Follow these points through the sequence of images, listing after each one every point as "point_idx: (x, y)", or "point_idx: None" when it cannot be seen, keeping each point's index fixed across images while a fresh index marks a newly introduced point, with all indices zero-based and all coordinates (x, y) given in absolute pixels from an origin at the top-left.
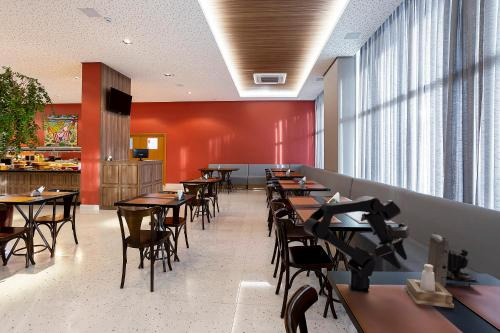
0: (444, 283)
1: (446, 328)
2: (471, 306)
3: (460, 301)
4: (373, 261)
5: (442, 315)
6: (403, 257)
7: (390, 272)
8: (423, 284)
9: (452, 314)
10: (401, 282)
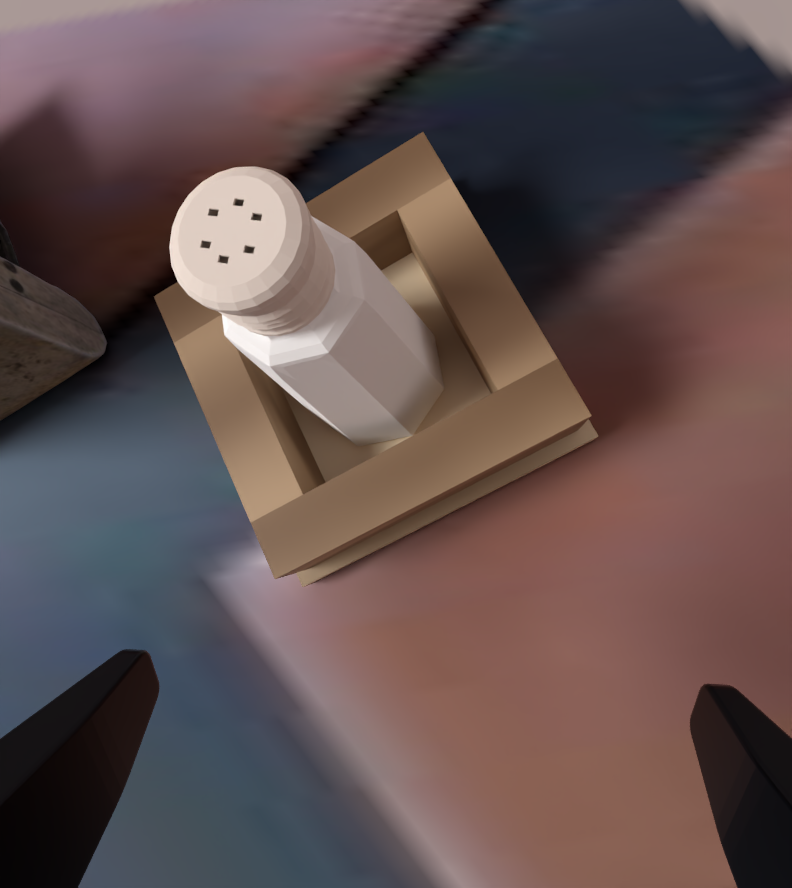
0: (61, 293)
1: None
2: (315, 101)
3: None
4: None
5: (667, 221)
6: (127, 738)
7: None
8: (403, 378)
9: (580, 169)
10: (197, 634)
